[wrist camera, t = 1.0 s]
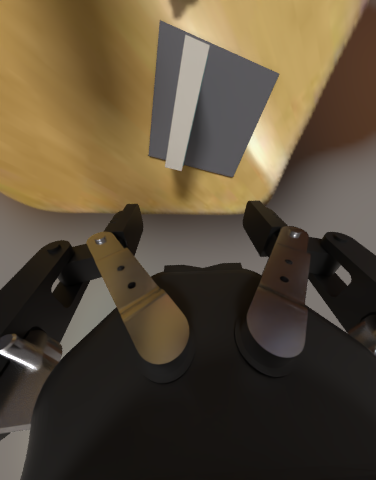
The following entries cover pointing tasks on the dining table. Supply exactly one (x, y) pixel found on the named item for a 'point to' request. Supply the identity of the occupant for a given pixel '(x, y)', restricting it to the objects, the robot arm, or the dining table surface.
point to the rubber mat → (209, 103)
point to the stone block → (186, 100)
